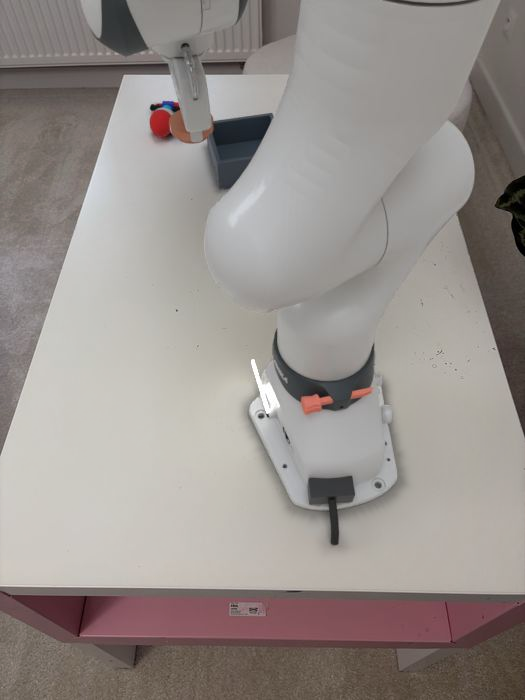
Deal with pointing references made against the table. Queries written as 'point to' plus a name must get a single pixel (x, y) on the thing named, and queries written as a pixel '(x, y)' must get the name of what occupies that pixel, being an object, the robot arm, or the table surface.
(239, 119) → the tub
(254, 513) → the table surface
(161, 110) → the toy figure
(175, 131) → the orange hockey puck
